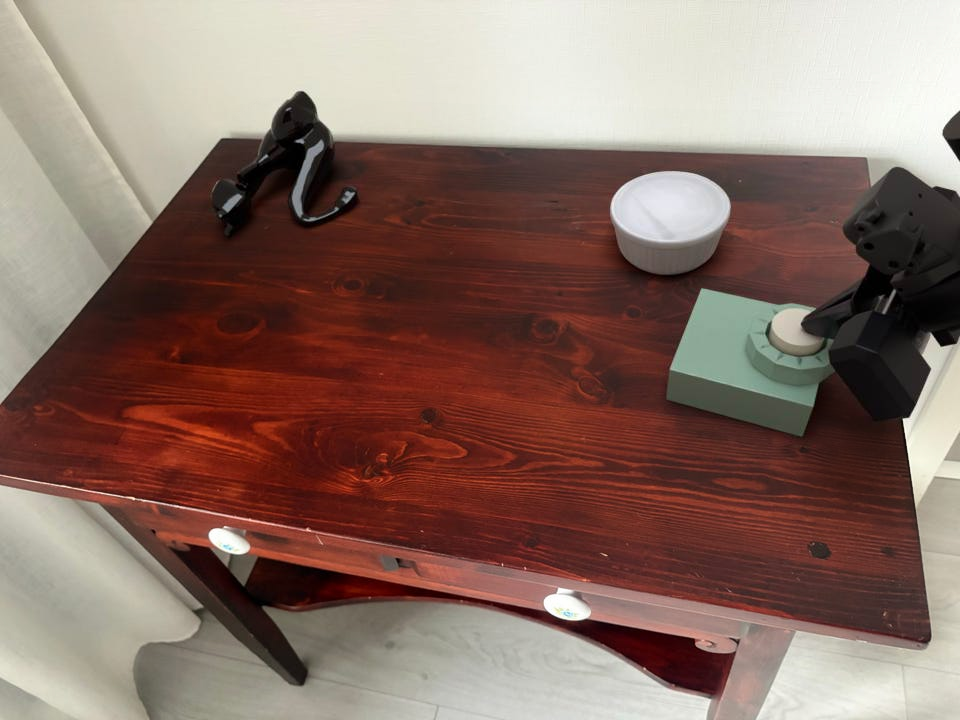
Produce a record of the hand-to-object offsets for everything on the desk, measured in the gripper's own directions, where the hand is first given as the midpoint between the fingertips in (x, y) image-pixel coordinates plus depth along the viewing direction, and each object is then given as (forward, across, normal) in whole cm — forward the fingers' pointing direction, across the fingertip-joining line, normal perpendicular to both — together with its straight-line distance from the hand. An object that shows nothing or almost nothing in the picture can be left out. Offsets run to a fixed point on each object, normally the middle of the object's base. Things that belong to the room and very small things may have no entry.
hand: (804, 325), depth 58 cm
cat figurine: (+46, +1, -35) cm, 58 cm away
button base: (+8, 0, +3) cm, 8 cm away
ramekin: (+17, -11, -6) cm, 21 cm away
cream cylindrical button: (+2, 0, +2) cm, 3 cm away
